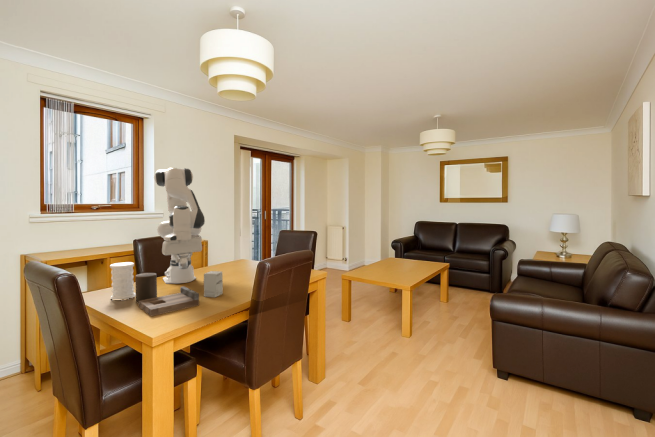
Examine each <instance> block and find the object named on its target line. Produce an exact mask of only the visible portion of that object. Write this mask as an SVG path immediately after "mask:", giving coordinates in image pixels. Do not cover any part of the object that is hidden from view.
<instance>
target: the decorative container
mask: <svg viewBox="0 0 655 437" xmlns="http://www.w3.org/2000/svg"><path fill="white" fill-rule="evenodd" d="M134 266H135V262H132V261H125V262H115V263H112V264H110V265H109V268H110V269H111V272H110V274H111V281H112V283H111V287H112V290H111V293H112V295H110V298H111V299H128V300H130V299H129V298H132V299H134V298H136V297H135V296H136V292H135V291H134V290H135V286H134V285H135V284H134V283H135V282H134V277H135V276H134V269H133V267H134ZM133 297H134V298H133ZM111 299H110V300H111Z"/></svg>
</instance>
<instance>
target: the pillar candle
mask: <svg viewBox="0 0 655 437" xmlns="http://www.w3.org/2000/svg"><path fill="white" fill-rule="evenodd" d="M134 277H135V293H136V297H135V302H136V303H137V304H139V301H141V300H146V299H151V298H156V297H158V291H157V290H158V284H157V283H158V278H157V273H156V272H144V273H139V274H138V273H137V274H136V275H135V276H134Z"/></svg>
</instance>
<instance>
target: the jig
mask: <svg viewBox="0 0 655 437" xmlns="http://www.w3.org/2000/svg"><path fill="white" fill-rule="evenodd" d="M199 305H200V292H197V291H195V290H192V289H191V288H188V287H187V286H180V292H177V293H172V294H167V295H162V296H157V297H156V298H151V299H146V300H141V301H139V303H138V308H139V309H141V310H142V311H143V310H144V312H145V313H146V314H147V313H148V314H147V315H149V316H150V317H154V316H158V315H163V314H166V313H171V312H175V311H176V312H177V311H179V310H184V309H188V308H193V307H197V306H199Z"/></svg>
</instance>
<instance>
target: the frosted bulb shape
mask: <svg viewBox="0 0 655 437" xmlns="http://www.w3.org/2000/svg"><path fill="white" fill-rule="evenodd" d="M188 255H189V253H183V254H177V256H179V259H180V260H179V261H180V262H179V269H187V268H188Z"/></svg>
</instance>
